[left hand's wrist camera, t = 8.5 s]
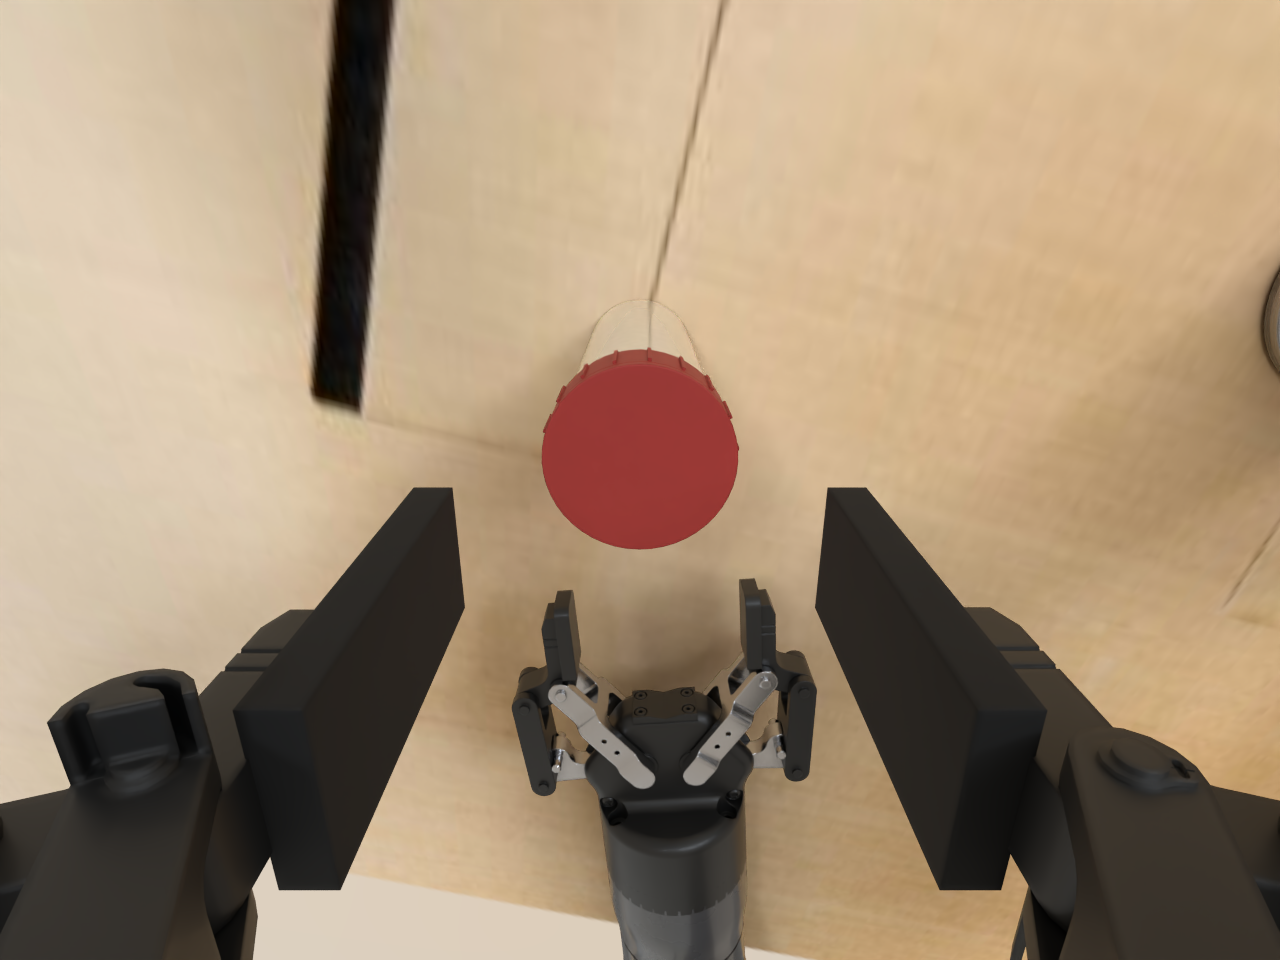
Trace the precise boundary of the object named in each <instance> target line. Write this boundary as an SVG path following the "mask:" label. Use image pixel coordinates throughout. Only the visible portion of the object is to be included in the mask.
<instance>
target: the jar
mask: <svg viewBox="0 0 1280 960" xmlns="http://www.w3.org/2000/svg"><path fill="white" fill-rule="evenodd" d="M647 347H649V348H651V350H654V351H659V352H664V353H667V354H670V355H673V356H676V357H678V358H679V356H682V357H683V359H684V361H686V362H688V363H689V364H691V365H692V366H693V367H695V368H696V369H698V370H699V371H700V372H701V373H702V374H703V372H702V369H701V367H700V364H699V361H698V359H697V356H696V354H695V351H694V349H693V346H692V343H691V341H690V338H689V336H688V333H687V331H686V328H685V326H684V325H683V323H682V321H681V320H680V319H679V318H678V316H677V315H676V314H675V313H674V312H672V311H671V310H670V309H668V308H667V307H665V306H663V305H662V304H659V303H657V302H654V301H649V300H631V301H626V302H623V303H621V304H619V305H616V306H615V307H613V308H612V309H610V310H609V311H608V312H606V313H605V314H604V315H603V316H602V318H601V319H600V320H599V321H598V323H597V325H596V326H595V328H594V331H593V333H592V336H591V338H590V341H589V343H588V346H587V348H586V351H585V354H584V356H583V359H582V361H581V364H580V367H579V369H578V372H577V374H578V373H579V372H580V371H581V370H582V369H583V367H584V365H585V364H586V363H587V364H588V365H589V364H591V363H592V362H594V361H596V360H598V359H600V358H602V357H604V356H607V355H610V354H613V353H614V351H615V350H618V352H621V351H626V350H637V349H643V350H647ZM577 374H576V375H577ZM703 375H704V374H703Z"/></svg>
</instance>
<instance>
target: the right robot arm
mask: <svg viewBox="0 0 1280 960" xmlns="http://www.w3.org/2000/svg"><path fill="white" fill-rule="evenodd" d="M1264 336H1265V343H1266V347H1267V351H1268V354H1269V356H1270V359H1271V360H1272V362H1273V364H1274V366H1275V367H1276V368H1277V370H1278V371H1279V372H1280V272H1279V274H1278V276H1277V278H1276V280H1275V282H1274V284H1273V287H1272V290H1271V292H1270V295H1269V298H1268V302H1267V306H1266V311H1265V318H1264ZM739 597H740V630H741V645H742V649H743V652H742V653H741V654H740V655H739V657H738V658H737V659H736V660H735V661H734V663H733V664H732V665H731V666H730V667H729V668H728V669H727V670H726V669H722V670H721V671H720V672H719V673H718V675H717V676H716V677H715V678H714V679H713V681H712V682H711V683H710V684H709V685H708V687H707V688H706V689H705V690H704V692H703V693H699V692H695V688H694V687H685V688H677V689H673V690H670V691H667V692H659V691H652V690H637V691H633V696H630V697H627V698H626V697H625V696H624V695H623V694H622V693H621V692H619V691H618V690H617V689H616V688H615V687H614V686H613V685H612V684H611V683H610V682H608V681H607V680H606V679H605V678H604V677H599V678H597V677H596V676H595V675H593V674H592V673H591V672H590V671H589V670H588V669H587V668H586V667H585V666H584V665H583V664H581V663H580V656H581V648H580V640H579V633H578V625H577V617H576V609H575V601H574V594H573V590H566V591H557V595H556V600H555V603H548V606H547V609H546V612H545V617H544V621H543V625H542V636H543V643H544V649H545V656H546V663H547V665H546V666H545V667H543V668H540V669H538V668H535V667H527V668H525V669H524V670H522V672H521V674H520V677H519V685H518V689H517V693H516V696H515V698H514V701H513V705H512V712H513V716H514V720H515V724H516V728H517V732H518V736H519V740H520V744H521V748H522V752H523V756H524V759H525V763H526V767H527V771H528V775H529V779H530V783H531V787H532V790H533V791H534V792H535V793H536V794H538V795H541V796H548V795H550V794H552V793H553V792H554V791H555V789H556V783H557V781H565V780H574V779H584V778H587V780H588V782H589V783H590V784H591V785H592V786H593V787H594V789H595V790H596V792H597V794H598V799H599V806H600V814H601V821H602V829H603V837H604V845H605V852H606V860H607V868H608V876H609V883H610V891H611V898H612V903H613V907H614V910H615V914H616V917H617V920H618V923H619V926H620V931H621V939H622V947H623V955H624V960H746V958H745V947H744V921H743V920H744V911H745V905H746V898H747V863H746V828H745V795H744V786H745V782H746V780H747V778H748V776H749V775H750V773H751V772H752V770H753V768H783V769H784V772H785V776H786V777H787V778H788V779H789V780H791V781H801V780H804V779H805V778H806V777H807V776H808V775H809V770H810V759H811V748H812V737H813V727H814V716H815V705H816V694H817V689H816V686H815V683H814V681H813V678H812V675H811V673H810V670H809V667H808V664H807V662H806V659H805V656H804V655H803V654H802V653H801V652H799V651H789V652H787V653H781V652H778V651H777V650H776V634H775V632H776V626H775V625H776V622H775V612H774V609H773V606H772V603H771V600H770V597H769V595H768V593H767V591H766V589H763V590H758V588H757V585H756V581H755V579H754V578H753V579H740V580H739ZM774 690H777V691H779V698H778V713H777V720H776V719H771V720H769V722H768V724H769V725H768V726H767V727H766V728H765V729H764V733H763V735H762V736H761V737H760V738H759V739H757V740H755V741H750V740H749V738H748V736H747V735H746V733H745V732H746V731H747V730H748V729H749V727H750V726H751V724H752V721H753V716H754V713H755V712H756V710H757V709H758V708H759V707H760V706H761V705H762V703H763V702H764V701H765V700H766V699H767V698H768V696H769V695H770V694H771V693H772V692H773V691H774ZM551 704H554V705H555V706H556V707H557V708H558V709H560V710H561V711H562V712H563V713H564V714H565V715H566V716H568V717H569V718H570V719H571V720H572V721H573V722H574V723H575V724H576V725H577V728H578V731H579V733H580V735H581V736H582V737H583V738H584V739H585V740H586V741H587V742H588V743H589V745H588V747H587V749H586V751H579V750H576V749H575V748H574V747H573V746H572V744H571V742H570V741H569V739H567V738H566V734H565V733H564V732H558V733H557V731H556V727H555V723H554V718H553V714H552V709H551Z"/></svg>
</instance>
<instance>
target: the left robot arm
mask: <svg viewBox="0 0 1280 960" xmlns="http://www.w3.org/2000/svg"><path fill="white" fill-rule="evenodd" d="M464 608H465V604H464V595H463V585H462V576H461V566H460V556H459V547H458V537H457V528H456V518H455V509H454V499H453V489H452V488H413V489H412V491H411V492H410V493H409V494H408V495H407V497H406V498H405V499H404V500H403V502H402V503H401V504H400V505H399V506H398V508H397V509H396V510H395V511H394V513H393V514H392V515H391V516H390V518H389V519H388V520H387V521H386V522H385V524H384V525H383V526H382V527H381V529H380V530H379V531H378V532H377V533H376V535H375V536H374V537H373V538H372V540H371V541H370V542H369V543H368V545H367V546H366V547H365V548H364V549H363V551H362V552H361V553H360V554H359V556H358V557H357V558H356V559H355V560H354V562H353V563H352V564H351V565H350V567H349V568H348V569H347V570H346V572H345V573H344V574H343V575H342V576H341V578H340V579H339V580H338V581H337V583H336V584H335V585H334V586H333V587H332V589H331V590H330V591H329V592H328V594H327V595H326V596H325V597H324V599H323V600H322V601H321V602H320V603H319V605H318V606H317V607H316V608H315V610H289V611H287V612H286V613H284V614H282V615H281V616H279V617H278V618H276V619H274V620H273V621H271V622H269V623H268V624H266V625H265V626H263V627H261V628H260V629H259V630H258V631H257V632H256V634H255V635H254V636H253V637H252V638H251V639H250V640H249V641H248V642H247V643H246V645H245V646H244V647H243V648H242V649H241V653H237V654H236V656H235V657H234V658H233V659H232V660H231V661H230V662H229V663H228V664H227V665H226V667H225V671H224V672H220V673H219V674H218V675H217V676H216V678H215V679H214V680H213V681H212V682H211V683H210V684H209V685H208V686H207V688H206V689H205V690H204V691H203V692H202V693H201V694H200V695H199V696H198V692H197V689H196V685H195V682H194V679H192V678H191V677H190V676H188V675H187V674H186V673H184V672H183V671H176V670H170V669H155V670H145V671H138V672H134V673H131V674H127V675H123V676H120V677H116V678H113V679H110V680H108V681H105V682H103V683H101V684H99V685H97V686H94V687H92V688H90V689H88V690H85V691H84V692H82V693H81V694H79V695H78V696H76V697H75V698H73V699H72V700H70V701H69V702H67V703H66V704H64V705H63V706H61V707H60V709H59V710H58V711H57V712H56V713H55V714H54V715H53V716H52V718H51V719H50V720H49V721H48V722H47V724H48V727H49V729H50V732H51V735H52V737H53V740H54V742H55V745H56V748H57V750H58V753H59V756H60V758H61V761H62V764H63V766H64V769H65V771H66V774H67V777H68V779H69V782H70V788H69V789H66V790H62V791H57V792H53V793H48V794H44V795H39V796H34V797H30V798H25V799H21V800H16V801H12V802H7V803H3V804H0V960H253V952H254V944H255V935H256V927H257V919H258V915H257V909H256V902H255V898H254V894H253V891H252V887H253V885H254V884H255V882H256V880H257V879H258V877H259V875H260V873H261V871H262V870H263V868H264V866H265V865H266V863H267V861H268V859H269V858H271V861H272V865H273V869H274V873H275V877H276V881H277V885H278V888H279V890H341V887H342V885H343V883H344V881H345V878H346V876H347V874H348V872H349V869H350V867H351V865H352V863H353V860H354V858H355V856H356V853H357V851H358V849H359V847H360V844H361V842H362V840H363V838H364V835H365V833H366V831H367V828H368V826H369V824H370V822H371V819H372V817H373V815H374V813H375V810H376V808H377V806H378V804H379V801H380V799H381V797H382V794H383V792H384V790H385V788H386V785H387V783H388V781H389V779H390V776H391V774H392V772H393V769H394V767H395V765H396V763H397V760H398V758H399V756H400V754H401V751H402V749H403V747H404V745H405V742H406V740H407V738H408V735H409V733H410V731H411V729H412V726H413V724H414V722H415V720H416V717H417V715H418V713H419V710H420V708H421V706H422V704H423V701H424V699H425V697H426V695H427V692H428V690H429V688H430V686H431V683H432V681H433V679H434V676H435V674H436V672H437V670H438V667H439V665H440V663H441V661H442V658H443V656H444V654H445V651H446V649H447V647H448V645H449V642H450V640H451V638H452V636H453V633H454V631H455V629H456V627H457V624H458V622H459V620H460V617H461V615H462V613H463V611H464ZM815 608H816V611H817V613H818V615H819V617H820V620H821V622H822V624H823V627H824V629H825V631H826V633H827V636H828V638H829V640H830V642H831V645H832V647H833V649H834V651H835V654H836V656H837V658H838V661H839V663H840V665H841V667H842V670H843V672H844V674H845V676H846V679H847V681H848V683H849V686H850V688H851V690H852V692H853V695H854V697H855V699H856V701H857V704H858V706H859V708H860V710H861V713H862V715H863V717H864V720H865V722H866V724H867V726H868V729H869V731H870V733H871V735H872V738H873V740H874V742H875V745H876V747H877V749H878V751H879V754H880V756H881V758H882V760H883V763H884V765H885V767H886V769H887V772H888V774H889V776H890V779H891V781H892V783H893V785H894V788H895V790H896V792H897V794H898V797H899V799H900V801H901V804H902V806H903V808H904V810H905V813H906V815H907V817H908V819H909V822H910V824H911V826H912V828H913V831H914V833H915V835H916V838H917V840H918V842H919V844H920V847H921V849H922V851H923V853H924V856H925V858H926V860H927V863H928V865H929V867H930V869H931V872H932V874H933V876H934V878H935V881H936V883H937V885H938V888H939V890H1001V888H1002V885H1003V881H1004V877H1005V873H1006V869H1007V865H1008V861H1009V858H1010V854H1011V856H1012V857H1013V859H1014V861H1015V863H1016V864H1017V866H1018V868H1019V870H1020V871H1021V873H1022V875H1023V876H1024V878H1025V880H1026V882H1027V883H1028V885H1029V887H1028V890H1027V894H1026V898H1025V901H1024V905H1023V908H1022V912H1021V916H1020V919H1019V923H1018V926H1017V930H1016V934H1015V937H1014V941H1013V944H1012V951H1011V957H1010V960H1022V956H1023V953H1024V950H1025V947H1026V950H1027V958H1028V960H1280V801H1278V800H1274V799H1269V798H1265V797H1260V796H1256V795H1251V794H1247V793H1242V792H1237V791H1233V790H1228V789H1224V788H1219V787H1215V786H1212V785H1210V784H1209V783H1208V781H1207V780H1206V779H1205V777H1204V776H1203V775H1202V773H1201V772H1200V771H1199V769H1198V768H1197V767H1196V766H1195V765H1194V764H1192V763H1191V762H1190V761H1189V760H1187V759H1186V758H1185V757H1183V756H1182V755H1181V754H1180V753H1178V752H1177V751H1176V750H1174V749H1172V748H1170V747H1168V746H1166V745H1164V744H1162V743H1160V742H1158V741H1156V740H1155V739H1153V738H1151V737H1148V736H1145V735H1142V734H1139V733H1136V732H1132V731H1129V730H1126V729H1122V728H1114V727H1112V726H1111V725H1110V724H1109V722H1108V721H1107V720H1106V719H1105V718H1104V717H1103V716H1102V715H1101V714H1100V713H1099V712H1098V710H1097V709H1096V708H1095V707H1094V706H1093V705H1092V704H1091V703H1090V702H1089V701H1088V699H1087V698H1086V697H1085V696H1084V695H1083V694H1082V693H1081V692H1080V691H1079V690H1078V689H1077V687H1076V686H1075V685H1074V684H1073V683H1072V682H1071V681H1070V680H1069V679H1068V678H1067V677H1066V675H1065V674H1064V673H1063V672H1062V671H1061V670H1060V669H1056V667H1055V663H1054V662H1053V661H1052V660H1051V659H1050V658H1049V657H1048V656H1047V655H1046V654H1045V652H1044V651H1040V650H1039V646H1038V645H1037V644H1036V643H1035V642H1034V640H1033V639H1032V638H1031V637H1030V636H1029V635H1028V634H1027V633H1026V632H1025V631H1024V629H1023V628H1022V627H1021V626H1020V625H1018V624H1017V623H1015V622H1013V621H1012V620H1010V619H1008V618H1007V617H1005V616H1003V615H1002V614H1000V613H999V612H997V611H995V610H994V609H992V608H990V607H963V606H962V605H961V603H960V602H959V601H958V600H957V599H956V597H955V596H954V595H953V594H952V592H951V591H950V590H949V589H948V587H947V586H946V585H945V584H944V583H943V581H942V580H941V579H940V578H939V576H938V575H937V574H936V573H935V572H934V570H933V569H932V568H931V567H930V565H929V564H928V563H927V562H926V560H925V559H924V558H923V557H922V556H921V554H920V553H919V552H918V551H917V549H916V548H915V547H914V546H913V545H912V543H911V542H910V541H909V540H908V538H907V537H906V536H905V535H904V533H903V532H902V531H901V530H900V529H899V527H898V526H897V525H896V524H895V522H894V521H893V520H892V519H891V518H890V516H889V515H888V514H887V513H886V511H885V510H884V509H883V508H882V506H881V505H880V504H879V503H878V502H877V500H876V499H875V498H874V497H873V495H872V494H871V493H870V492H869V491H868V489H867V488H828V489H827V499H826V509H825V518H824V528H823V537H822V547H821V556H820V566H819V576H818V585H817V595H816V604H815Z"/></svg>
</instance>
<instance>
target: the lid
mask: <svg viewBox="0 0 1280 960" xmlns="http://www.w3.org/2000/svg"><path fill="white" fill-rule="evenodd" d="M556 402H557V404H556V407H555V409H554V411H553V414H550V416H549V418H548V420H547V423H546V425H545V427H544V430H543V432H544V433H545V435H544V440H543V446H542V467H543V474H544V478H545V482H546V485H547V487H548V490H549V492H550V495H551V497H552V498H553V500H554V502H555V504H556V505H557V507H558V508H559V509H560V511H561V512H562V513H563V515H564V516H565V517H566V518H567V519H568V520H569V521H570V522H571V523H572V524H573V525H574V526H576V527H577V528H578V529H580V530H581V531H582V532H584V533H585V534H587V535H589V536H590V537H592V538H594V539H596V540H599V541H601V542H603V543H606V544H609V545H612V546H616V547H621V548H627V549H653V548H659V547H664V546H667V545H671V544H674V543H677V542H679V541H681V540H684V539H686V538H688V537H690V536H691V535H693V534H695V533H696V532H698V531H699V530H700V529H702V528H703V527H704V526H706V525H707V524H708V523H709V522H710V521H711V520H712V519H713V518H714V517H715V516H716V515H717V513H718V512H719V511H720V509H721V508H722V507H723V505H724V504H725V502H726V500H727V498H728V497H729V495H730V492H731V490H732V487H733V485H734V481H735V478H736V474H737V466H738V450H739V446H738V444H737V440H736V435H735V432H734V429H733V425H732V423H731V421H730V419H731V418H732V415H731V413H730V411H729V408H728V406H727V404H726V402H725V401H723V402H722V400H721V398H720V396H719V394H718V392H717V391H716V389H715V388H714V386H713V385H712V382H711V380H710V378H709V376H708V375H706V376H704V375H703V374H702V373H701V372H700V371H699V370H698V369H696V368H695V367H693V366H692V365H691V364H689V363H688V362H686V361H684V359H683V357H682V356H679V358H678V357H676V356H673V355H670V354H667V353H664V352H659V351H654V350H651V348H649V347H647V350H643V349H637V350H626V351H621V352H618V350H615V351H614V353H613V354H610V355H607V356H604V357H602V358H600V359H598V360H596V361H594V362H592V363H591V364H589V365H588V364H587V363H586V364H585V365H584V367H583V369H582V370H581V371H580V372H579V373H578V374H577V375H576V376H575V377H574V378H573V379H572V380H571V381H570V382H569V384H568V385H567V386H566V387H565V386H563V387H562V389H561V391H560V394H559V396H558V398H557V400H556Z"/></svg>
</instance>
